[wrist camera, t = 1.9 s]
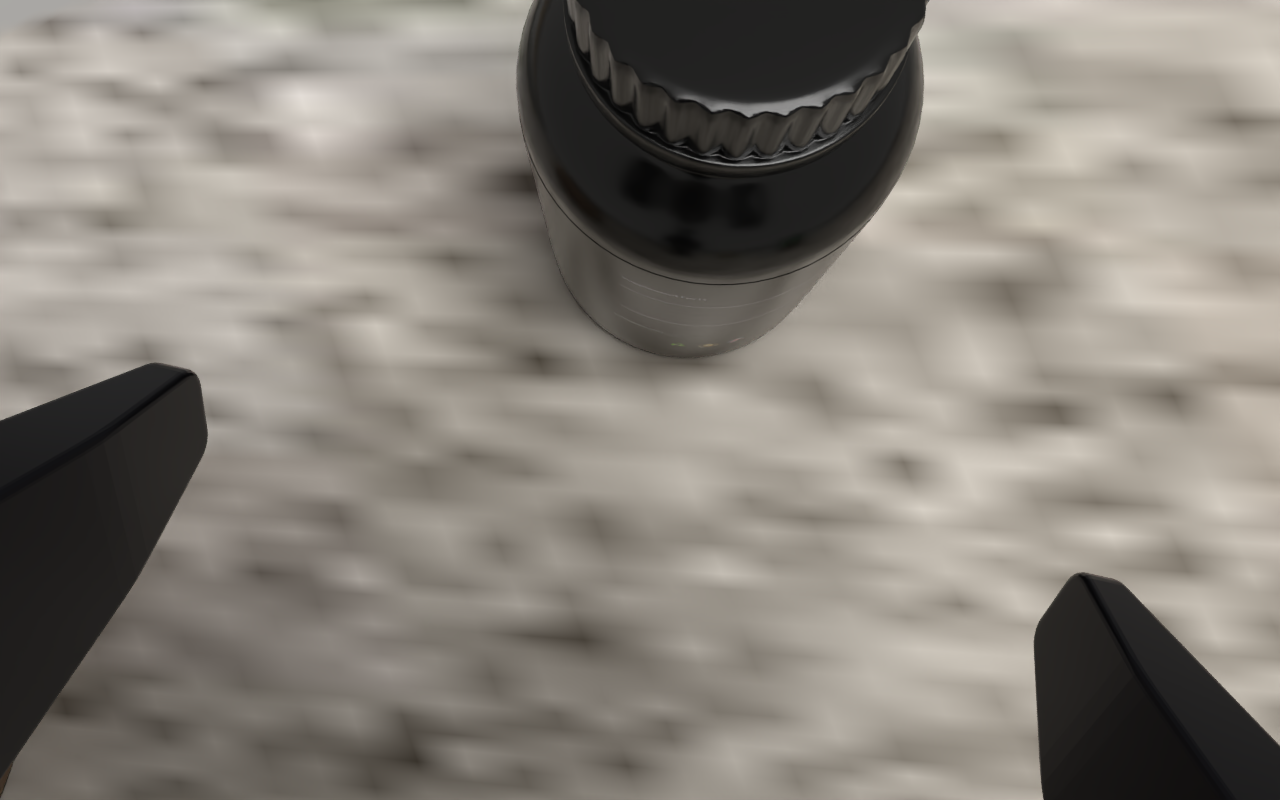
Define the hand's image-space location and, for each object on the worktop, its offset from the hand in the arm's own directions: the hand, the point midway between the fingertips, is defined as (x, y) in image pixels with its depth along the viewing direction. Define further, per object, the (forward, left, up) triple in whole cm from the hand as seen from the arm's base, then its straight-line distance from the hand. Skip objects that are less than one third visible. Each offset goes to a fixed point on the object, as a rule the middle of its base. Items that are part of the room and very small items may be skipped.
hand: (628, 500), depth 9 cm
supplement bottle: (+7, +2, -13) cm, 15 cm away
